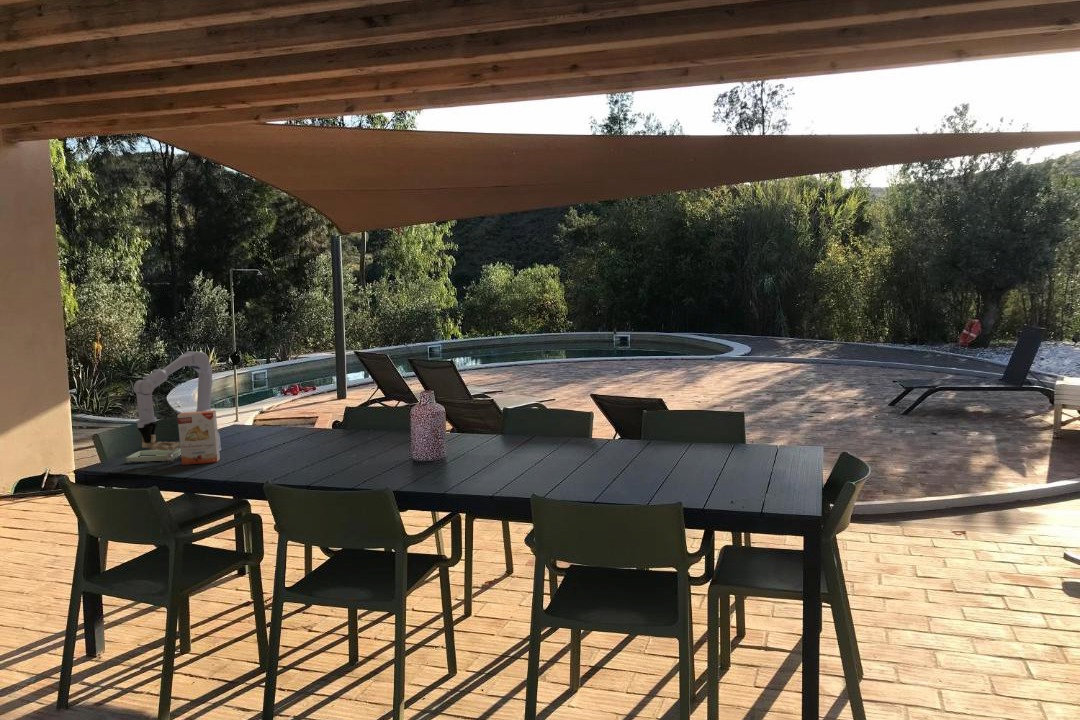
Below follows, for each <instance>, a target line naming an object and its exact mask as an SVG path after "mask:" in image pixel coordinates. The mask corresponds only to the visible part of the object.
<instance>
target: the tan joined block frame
mask: <svg viewBox="0 0 1080 720" xmlns="http://www.w3.org/2000/svg"><path fill="white" fill-rule="evenodd" d="M141 437H142V436H141ZM141 440H142V441H141V448H145V449H149V450H175V449H178V448H180V441H177V442H176V441H157V435H156V434H154V435H151V442H150V443H145V442H144V439H143V437H142V438H141ZM156 441H157V442H156Z"/></svg>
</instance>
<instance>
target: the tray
mask: <svg viewBox="0 0 1080 720" xmlns="http://www.w3.org/2000/svg"><path fill="white" fill-rule="evenodd" d="M171 451H173V454H172V457H173V459H175V458H176V459H178V458H179V457H178V456H180V455H181V449H180V447H178V448H176V449H175V450H156V449H155V450H150V449H149V450H139V451H137V452H134V453H131V455H128V456H126V457H125V458H124V459H125V463H126V462H129V461H162V462H168V461H167V456H166V453H168V452H171ZM140 455H156V456H140ZM138 456H140V457H138ZM177 457H178V458H177ZM180 457H181V456H180ZM176 459H175V460H176Z"/></svg>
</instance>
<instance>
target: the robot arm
mask: <svg viewBox="0 0 1080 720" xmlns="http://www.w3.org/2000/svg"><path fill="white" fill-rule="evenodd" d="M209 359H210V357H209V355H207V354H206V353H205V352H204V351H191V350H188V351H186V352H184V353H183V354H181V355H179V357H178V358H176V359H175V360H173V361H172V362H171V363H169V364H168V365H166V366H165V367H164V368H162V369H161V368H158V369H156V368H155V369H153V370H152V372H151V373H149V374H148V375H147V376H143V378H142V379H139V380H137V381H135V383H134V384H133V387H132V390H133V392H134V393H135V394H136V402H137V410H138V411H137V412H138V420H136V425H137V430H138V431H139V432H140V434H141V437H143V439H144V442H145V443H150V442H151V435H156V434H155V433H156V430H157V427H158V423H157V420H158V419H157V416H155V412H154V403H153V402H154V401H153V392H154V391H155V389H156V388H157V387H159V386H160V385H162V384H163V383H164V382H166V381H167V380H168V377H169V376H170V375H171V374H173V373H175V372H176V371H178V370H179V369H181V368H183V367H190V368H192V369H193V370H194V371H195V372H196V373H197V374H198V380H197V381H198V382H197V384H198V385H197V400H196V401H197V405H196V410H195V412H201V411H212V409H211V407H212V405H211V404H212V385H213V381H212V380H213V367H212V365H211V363H210V360H209ZM218 441H219V452H221V451H222V446H221V445H222V444H221V435H220V432H219V431H218Z"/></svg>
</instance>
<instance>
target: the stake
mask: <svg viewBox="0 0 1080 720" xmlns="http://www.w3.org/2000/svg"><path fill="white" fill-rule="evenodd" d="M172 454H173V451H171V452H168V453H166V456H167V460H168V461H167V464H168V463H173V464H174V460H173V457H172Z"/></svg>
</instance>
